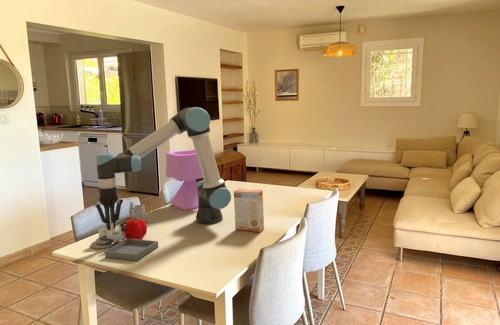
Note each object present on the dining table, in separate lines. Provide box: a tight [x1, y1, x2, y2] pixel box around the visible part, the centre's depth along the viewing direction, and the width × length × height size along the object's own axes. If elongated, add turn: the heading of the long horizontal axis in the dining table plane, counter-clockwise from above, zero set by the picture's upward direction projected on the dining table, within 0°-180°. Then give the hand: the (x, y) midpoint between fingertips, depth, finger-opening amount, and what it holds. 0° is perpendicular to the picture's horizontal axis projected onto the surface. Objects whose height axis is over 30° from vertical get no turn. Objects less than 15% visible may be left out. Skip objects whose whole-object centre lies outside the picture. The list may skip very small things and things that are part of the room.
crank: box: [97, 220, 127, 241], centre depth 180 cm, size 15×5×8 cm, turn 74°
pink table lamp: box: [165, 149, 203, 212], centre depth 246 cm, size 23×23×35 cm
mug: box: [128, 201, 148, 223], centre depth 214 cm, size 8×12×12 cm, turn 59°
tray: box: [104, 239, 159, 262], centre depth 170 cm, size 16×16×3 cm
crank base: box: [90, 237, 121, 250], centre depth 182 cm, size 13×13×3 cm
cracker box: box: [233, 188, 265, 233], centre depth 193 cm, size 14×6×21 cm, turn 65°
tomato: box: [125, 218, 148, 240], centre depth 186 cm, size 12×12×11 cm
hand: (111, 236), depth 177 cm, fingers closed
